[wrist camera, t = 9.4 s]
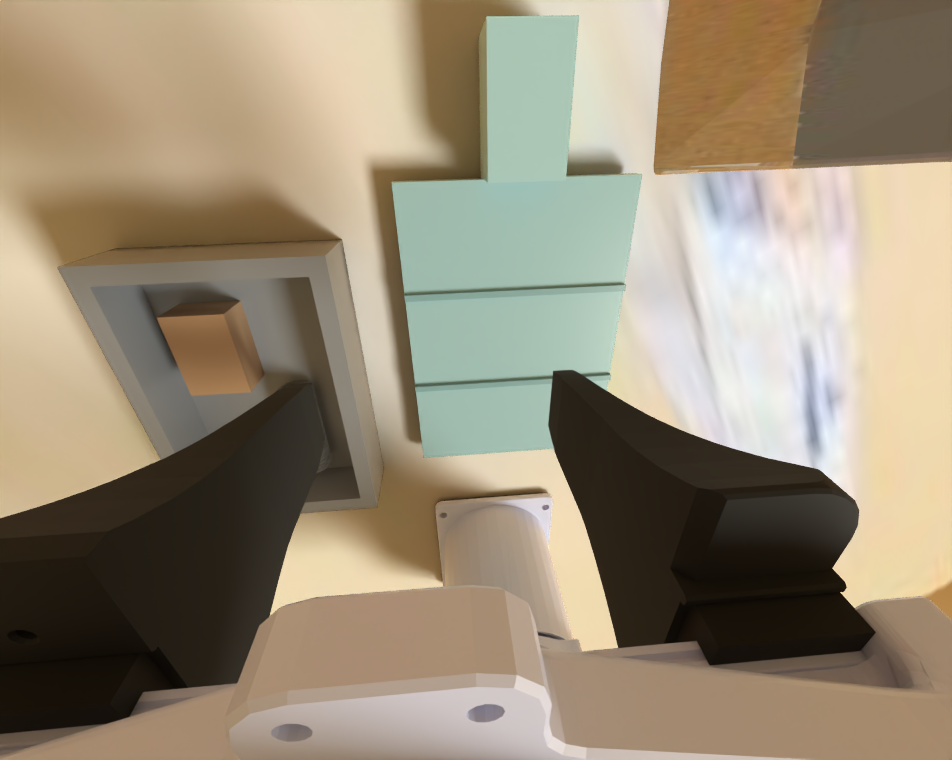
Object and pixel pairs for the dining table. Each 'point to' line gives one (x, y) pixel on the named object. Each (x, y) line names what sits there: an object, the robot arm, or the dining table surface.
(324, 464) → the metal pin
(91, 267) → the tub
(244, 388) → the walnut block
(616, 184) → the mint green stepped piece
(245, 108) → the dining table surface
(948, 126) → the sandwich container
